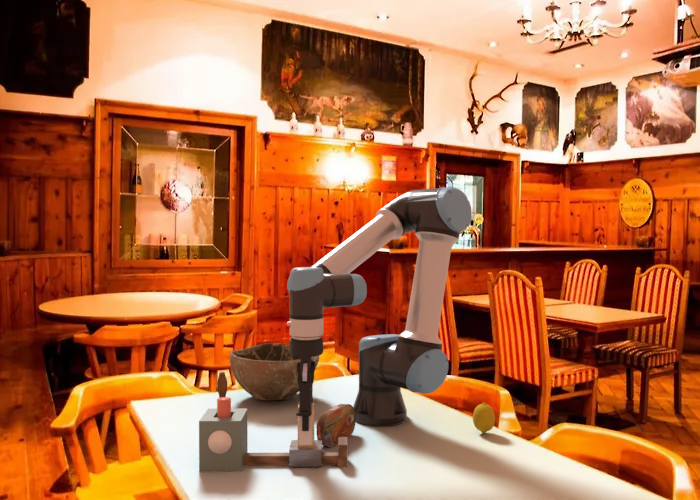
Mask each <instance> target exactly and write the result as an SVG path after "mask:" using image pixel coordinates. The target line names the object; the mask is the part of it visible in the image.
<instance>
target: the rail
mask: <svg viewBox="0 0 700 500" xmlns="http://www.w3.org/2000/svg"><path fill="white" fill-rule="evenodd" d="M323 465H324V466H325V465H326V466H327V465H328V466H332V465H333V466H334V465H335V466H336V465H337V468H348V438H347V437H338V444H337V452H330V451H329V452H326V451H325V452H323V451H322V457H321V466H323ZM243 466H289V452H247V453H245V454H244V465H243Z"/></svg>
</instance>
